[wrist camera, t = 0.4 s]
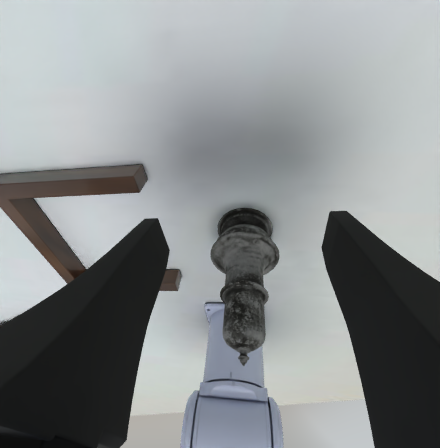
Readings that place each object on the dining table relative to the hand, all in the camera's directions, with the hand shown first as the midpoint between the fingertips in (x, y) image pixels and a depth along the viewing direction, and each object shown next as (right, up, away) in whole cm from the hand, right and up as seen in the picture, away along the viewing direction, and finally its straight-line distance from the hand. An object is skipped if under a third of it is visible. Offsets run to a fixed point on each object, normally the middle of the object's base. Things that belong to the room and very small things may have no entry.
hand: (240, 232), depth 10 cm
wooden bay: (-12, -1, +15) cm, 19 cm away
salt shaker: (+1, 0, +13) cm, 13 cm away
